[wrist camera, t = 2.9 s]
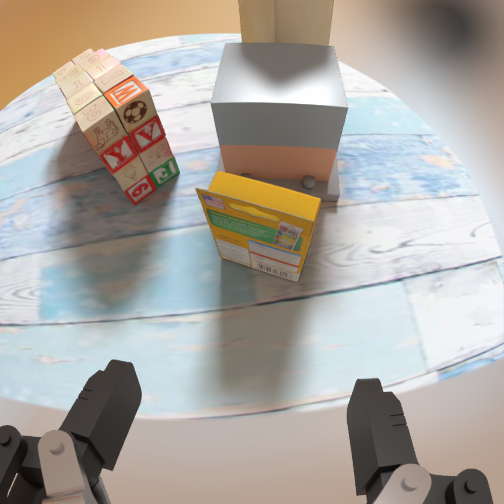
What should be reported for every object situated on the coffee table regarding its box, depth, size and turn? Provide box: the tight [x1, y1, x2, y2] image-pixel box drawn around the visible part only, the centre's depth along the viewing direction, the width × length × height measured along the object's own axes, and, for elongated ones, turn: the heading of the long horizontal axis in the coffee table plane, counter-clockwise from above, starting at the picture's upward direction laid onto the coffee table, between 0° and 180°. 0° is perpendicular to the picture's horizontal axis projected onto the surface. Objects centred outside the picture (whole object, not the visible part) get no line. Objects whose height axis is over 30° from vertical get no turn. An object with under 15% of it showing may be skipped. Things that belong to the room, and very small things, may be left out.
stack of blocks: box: [53, 48, 180, 205], centre depth 29 cm, size 21×6×12 cm, turn 38°
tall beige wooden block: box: [238, 0, 334, 46], centre depth 27 cm, size 8×7×21 cm
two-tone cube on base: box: [211, 42, 348, 201], centre depth 27 cm, size 12×12×11 cm
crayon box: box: [195, 171, 321, 282], centre depth 23 cm, size 7×3×12 cm, turn 70°
